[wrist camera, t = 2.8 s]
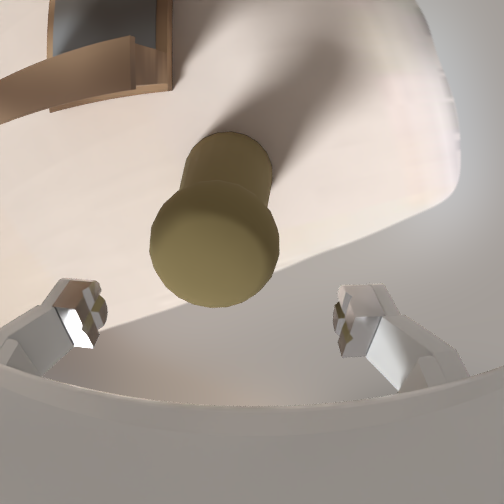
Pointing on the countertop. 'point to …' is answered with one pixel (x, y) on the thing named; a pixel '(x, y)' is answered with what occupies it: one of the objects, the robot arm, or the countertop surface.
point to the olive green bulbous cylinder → (218, 224)
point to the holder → (94, 56)
